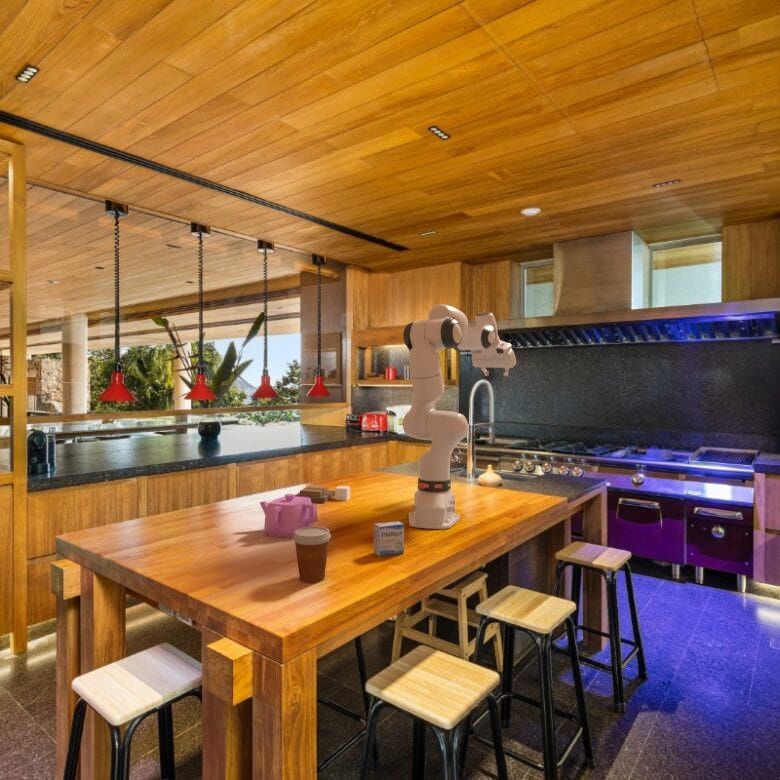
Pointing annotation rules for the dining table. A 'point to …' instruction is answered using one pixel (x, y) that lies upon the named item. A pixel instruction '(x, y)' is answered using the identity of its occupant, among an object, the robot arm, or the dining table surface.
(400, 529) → the medicine box
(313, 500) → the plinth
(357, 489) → the dining table surface
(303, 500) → the teakettle
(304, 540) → the disposable coffee cup
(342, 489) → the cream block
